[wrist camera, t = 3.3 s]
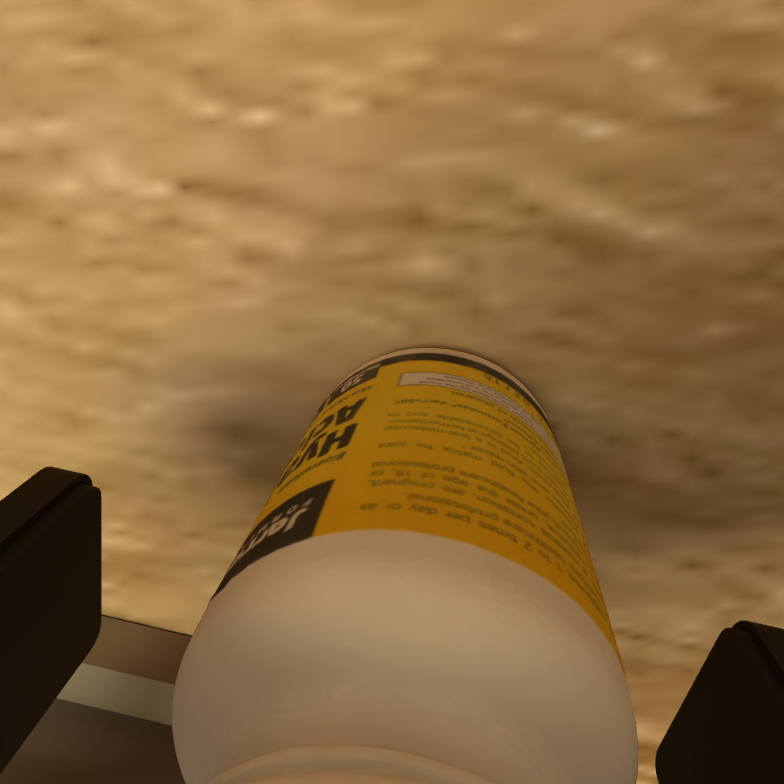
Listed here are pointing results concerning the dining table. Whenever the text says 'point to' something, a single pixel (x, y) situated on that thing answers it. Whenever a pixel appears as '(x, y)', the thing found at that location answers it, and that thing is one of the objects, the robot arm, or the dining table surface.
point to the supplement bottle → (411, 602)
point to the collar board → (110, 715)
